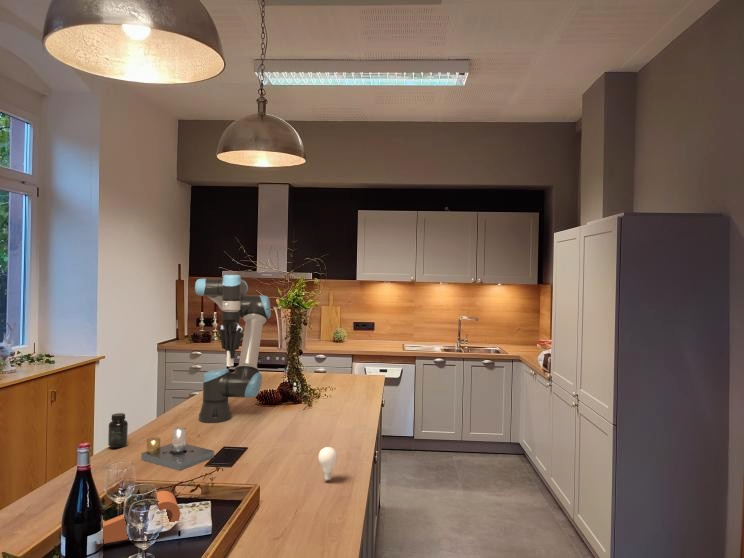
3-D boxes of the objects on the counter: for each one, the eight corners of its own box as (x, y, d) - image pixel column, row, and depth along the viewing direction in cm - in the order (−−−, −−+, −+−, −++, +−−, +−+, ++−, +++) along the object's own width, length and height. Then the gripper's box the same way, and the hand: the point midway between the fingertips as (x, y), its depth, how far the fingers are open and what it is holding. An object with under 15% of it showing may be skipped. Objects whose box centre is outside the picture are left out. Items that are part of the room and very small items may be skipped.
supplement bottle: (113, 441, 213) (114, 412, 213) (130, 442, 212) (131, 412, 212) (104, 447, 206) (105, 416, 206) (121, 447, 206) (122, 417, 206)
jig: (140, 459, 193) (141, 440, 193) (176, 448, 207) (176, 430, 207) (179, 470, 183) (180, 450, 183) (214, 457, 197) (214, 438, 197)
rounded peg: (168, 459, 194) (170, 429, 194) (178, 455, 198) (179, 426, 198) (177, 461, 192) (179, 431, 192) (187, 458, 196) (188, 428, 196)
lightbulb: (317, 476, 180) (318, 444, 180) (336, 476, 181) (337, 444, 181) (317, 483, 174) (318, 450, 174) (336, 483, 174) (337, 450, 174)
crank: (175, 516, 149) (176, 488, 149) (179, 528, 142) (180, 499, 142) (95, 531, 139) (96, 501, 139) (95, 545, 132) (96, 513, 132)
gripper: (213, 310, 225) (212, 365, 225) (236, 311, 219) (235, 368, 219) (226, 309, 232) (225, 363, 232) (248, 311, 226) (247, 366, 226)
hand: (230, 365), depth 226 cm, fingers closed
